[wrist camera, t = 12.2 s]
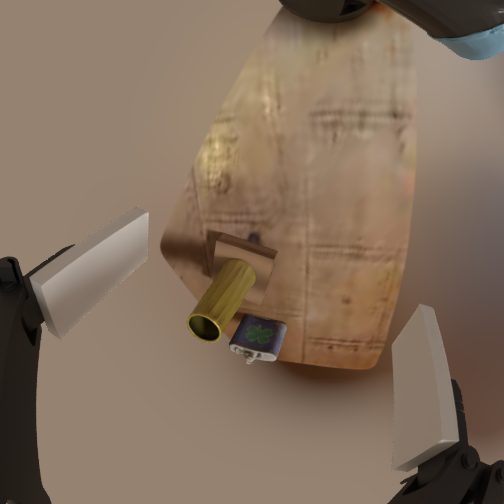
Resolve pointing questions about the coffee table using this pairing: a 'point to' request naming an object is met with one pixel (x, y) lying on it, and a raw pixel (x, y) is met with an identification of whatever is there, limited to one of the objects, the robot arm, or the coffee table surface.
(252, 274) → the vase
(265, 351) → the flask
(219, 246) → the plinth
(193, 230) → the coffee table surface
